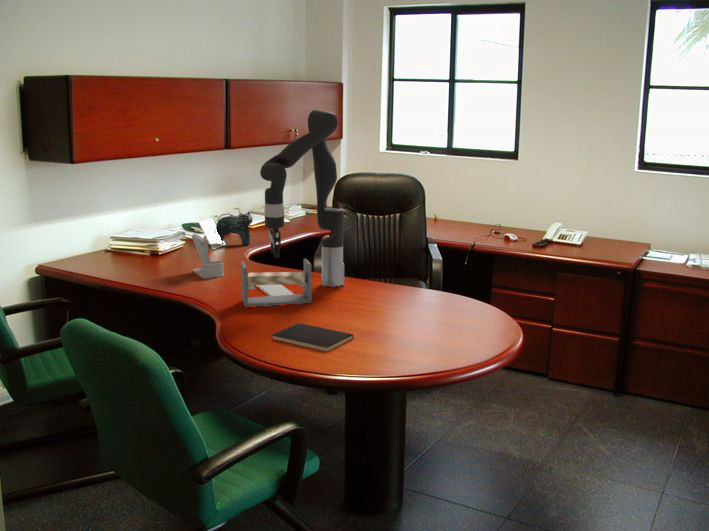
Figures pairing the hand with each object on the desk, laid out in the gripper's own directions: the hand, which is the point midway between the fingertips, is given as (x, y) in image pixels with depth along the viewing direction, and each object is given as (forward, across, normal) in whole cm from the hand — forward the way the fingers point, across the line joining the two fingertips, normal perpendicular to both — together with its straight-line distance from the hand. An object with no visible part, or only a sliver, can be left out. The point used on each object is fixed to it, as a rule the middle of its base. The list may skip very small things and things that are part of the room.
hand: (275, 255), depth 304 cm
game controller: (+20, -114, -6) cm, 116 cm away
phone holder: (+20, -53, -24) cm, 61 cm away
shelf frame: (+19, 0, 0) cm, 19 cm away
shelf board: (+11, 0, 0) cm, 11 cm away
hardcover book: (+20, +47, +6) cm, 52 cm away
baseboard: (+20, -20, 0) cm, 29 cm away
